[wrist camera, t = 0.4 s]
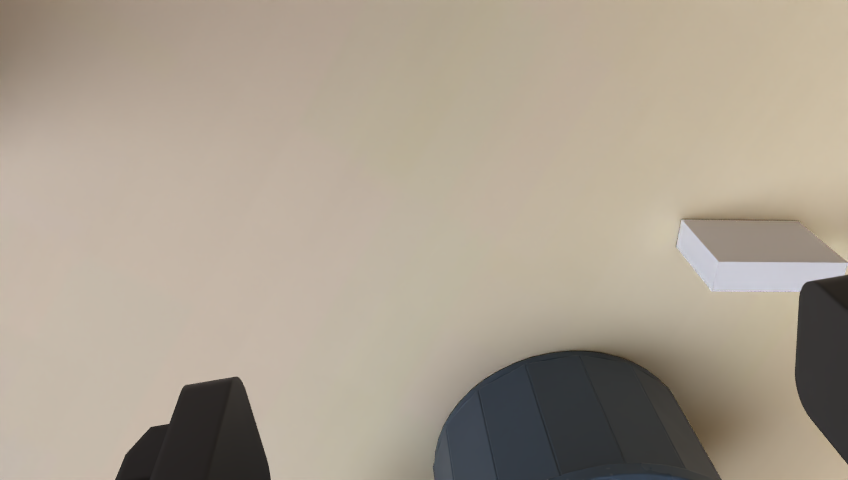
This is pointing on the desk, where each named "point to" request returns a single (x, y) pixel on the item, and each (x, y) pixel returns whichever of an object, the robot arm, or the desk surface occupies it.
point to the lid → (632, 473)
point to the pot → (566, 421)
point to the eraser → (756, 254)
